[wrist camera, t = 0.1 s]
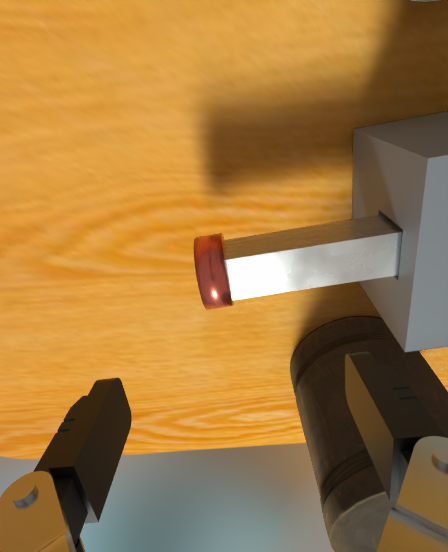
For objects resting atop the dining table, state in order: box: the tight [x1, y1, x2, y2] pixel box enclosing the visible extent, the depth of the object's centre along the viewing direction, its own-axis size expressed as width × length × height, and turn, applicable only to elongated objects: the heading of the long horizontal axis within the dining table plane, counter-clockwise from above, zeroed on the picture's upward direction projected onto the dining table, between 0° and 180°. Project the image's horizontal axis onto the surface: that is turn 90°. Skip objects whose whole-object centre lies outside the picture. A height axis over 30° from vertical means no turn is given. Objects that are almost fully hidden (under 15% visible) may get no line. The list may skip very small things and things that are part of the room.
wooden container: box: [290, 317, 448, 552], centre depth 33 cm, size 15×15×22 cm
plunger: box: [194, 214, 403, 310], centre depth 26 cm, size 20×6×6 cm, turn 100°
